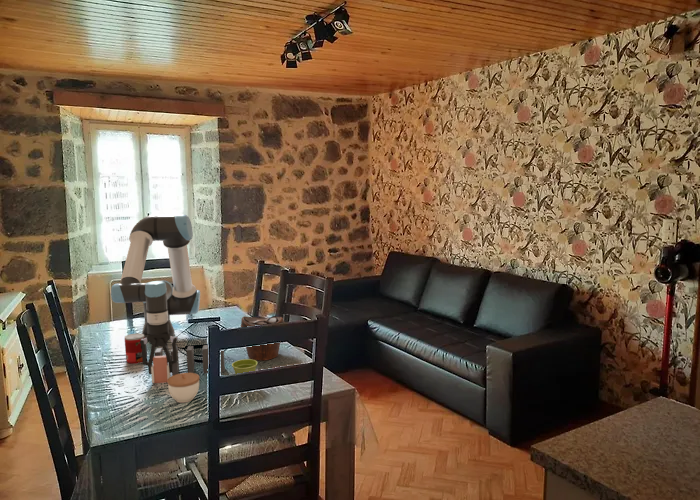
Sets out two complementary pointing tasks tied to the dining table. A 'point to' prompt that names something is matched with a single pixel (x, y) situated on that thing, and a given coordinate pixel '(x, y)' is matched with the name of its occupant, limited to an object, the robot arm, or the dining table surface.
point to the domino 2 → (160, 369)
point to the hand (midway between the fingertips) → (161, 381)
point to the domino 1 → (159, 352)
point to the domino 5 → (205, 358)
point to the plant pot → (244, 365)
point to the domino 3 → (175, 364)
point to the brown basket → (263, 350)
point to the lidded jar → (183, 386)
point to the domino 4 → (190, 359)
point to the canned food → (133, 348)
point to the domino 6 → (222, 361)
